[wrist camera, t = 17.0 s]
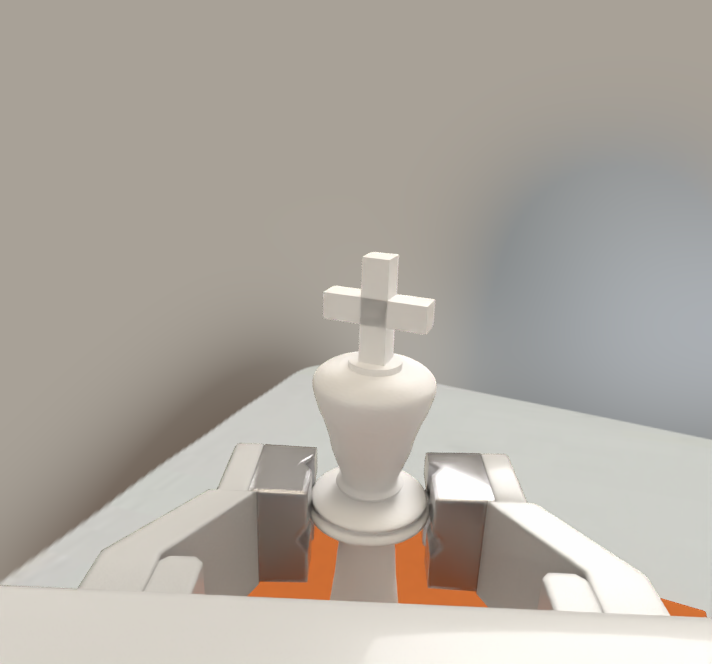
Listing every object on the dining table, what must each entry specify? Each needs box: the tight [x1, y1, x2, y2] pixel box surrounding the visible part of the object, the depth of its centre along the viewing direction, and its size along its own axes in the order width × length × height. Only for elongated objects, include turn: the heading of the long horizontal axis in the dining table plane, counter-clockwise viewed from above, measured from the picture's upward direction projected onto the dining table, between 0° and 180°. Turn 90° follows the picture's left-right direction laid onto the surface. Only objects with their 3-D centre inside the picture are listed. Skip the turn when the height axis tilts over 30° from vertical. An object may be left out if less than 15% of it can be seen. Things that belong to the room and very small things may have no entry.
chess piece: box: [310, 252, 437, 603], centre depth 11 cm, size 5×5×10 cm
